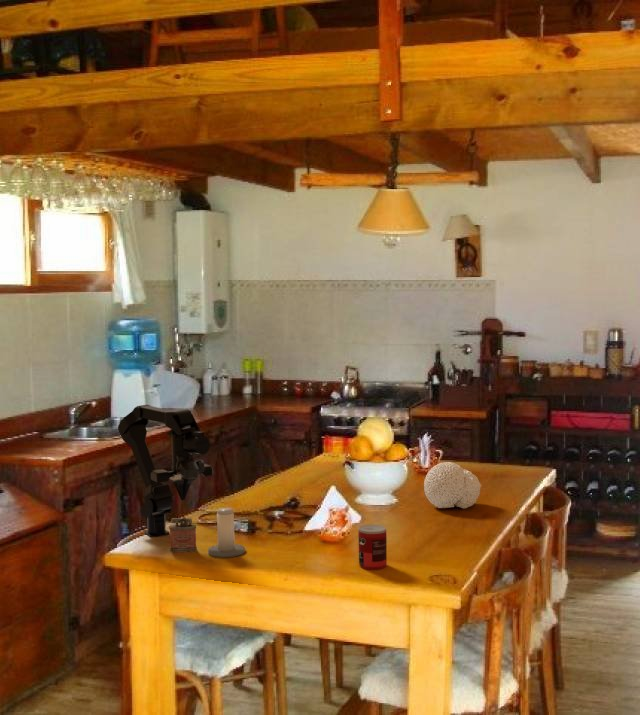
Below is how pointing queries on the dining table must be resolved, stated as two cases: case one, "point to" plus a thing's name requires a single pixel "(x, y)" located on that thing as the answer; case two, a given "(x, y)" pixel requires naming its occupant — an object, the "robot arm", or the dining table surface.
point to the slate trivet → (226, 554)
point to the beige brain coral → (451, 486)
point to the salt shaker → (225, 529)
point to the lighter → (182, 535)
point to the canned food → (372, 547)
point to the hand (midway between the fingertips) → (183, 500)
